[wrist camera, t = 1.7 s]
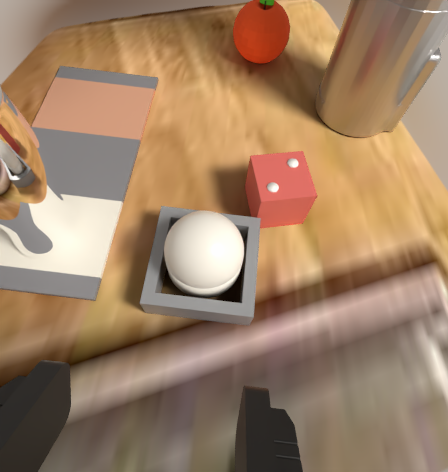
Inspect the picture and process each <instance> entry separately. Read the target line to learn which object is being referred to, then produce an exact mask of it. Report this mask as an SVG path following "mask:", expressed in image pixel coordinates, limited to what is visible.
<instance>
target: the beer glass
mask: <svg viewBox="0 0 448 472" xmlns="http://www.w3.org/2000/svg"><path fill="white" fill-rule="evenodd" d="M0 228H1V229H2V230H3V231H5V232H6V233H7V234H8V236H9V237H10V239H11V240H12V242H13V244H14V245H15V247H16V248H17V249H18V250H19V251H20V252H21V253H22V254H24V255H26V256H28V257H31V258H35V259H47V258H52V257H55V256H58V255H60V254H62V253H63V252H65V251H66V250H68V249H69V248H70V247H71V246H72V245H73V244H74V243H75V241H76V240H77V238H78V236H79V234H80V231H81V219H80V216H79V214H78V212H77V211H76V209H75V208H74V207H73V206H72V205H71V204H69V203H68V202H67V201H66V200H65V199H64V198H63V197H62V196H61V195H60V193H59V191H58V188H57V186H56V183H55V180H54V177H53V174H52V171H51V168H50V165H49V162H48V159H47V157H46V155H45V152H44V150H43V148H42V146H41V144H40V142H39V140H38V138H37V137H36V135H35V133H34V131H33V130H32V128H31V127H30V125H29V124H28V122H27V121H26V119H25V118H24V116H23V115H22V114H21V112H20V111H19V110H18V108H17V107H16V106H15V104H14V103H13V102H12V100H11V99H10V98H9V96H8V95H7V94H6V93H5V91H4V90H3V89H2V87H1V86H0Z"/></svg>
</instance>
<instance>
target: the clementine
mask: <svg viewBox="0 0 448 472" xmlns="http://www.w3.org/2000/svg"><path fill="white" fill-rule="evenodd" d="M289 33H290V24H289V19H288V16H287V14H286V12H285V10H284V9H283V7H282V6H281V5H279V4H278V3H277V2H276V1H274V0H253V1H250V2H248V3H247V4H246V5H245V6H244V7H243V8H242V9H241V10H240V11H239V13H238V15H237V17H236V19H235V23H234V28H233V37H234V42H235V45H236V48H237V50H238V51H239V53H240V54H241V55H242V56H243V57H244V58H245V59H247V60H248V61H251V62H253V63H267V62H270V61H272V60H274V59H275V58H276V57H278V56H279V55H280V54H281V53H282V51H283V50H284V48H285V47H286V45H287V42H288V39H289Z"/></svg>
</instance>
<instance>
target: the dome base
mask: <svg viewBox="0 0 448 472" xmlns="http://www.w3.org/2000/svg"><path fill="white" fill-rule="evenodd" d="M196 211H198V210H190V209H182V208H173V207H165V206H161V211H160V215H159V220H158V224H157V229H156V233H155V237H154V242H153V246H152V251H151V255H150V260H149V264H148V268H147V273H146V277H145V282H144V286H143V291H142V295H141V300H140V305H141V306H142V308H143V310H144V311H145V313H151V314H160V315H168V316H176V317H184V318H192V319H200V320H208V321H217V322H225V323H233V324H241V325H250V323H251V321H252V319H253V317H254V304H255V290H256V276H257V262H258V248H259V234H260V221H261V218H256V217H247V216H239V215H231V214H223V213H219V214H221V215H223V216H225V217H227V218H228V219H229V220H231V221H232V222H233V223H234V225H235V226H236V227H237V229H238V230H239V232H240V234H241V236H242V239H243V241H245V249H244V260H243V271H242V282H241V292H240V303H236V302H228V301H220V300H211V299H203V298H195V297H187V296H179V295H171V294H162V293H161V291H162V286H163V281H164V276H165V271H166V262H165V257H164V245H165V240H166V237H167V234H168V232H169V231H170V229H171V227H172V226H173V225H174V224H175V223H176V222H177V221H178V220H179V219H180V218H182V217H183V216H185V215H187V214H189V213H192V212H196Z"/></svg>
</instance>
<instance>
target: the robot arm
mask: <svg viewBox="0 0 448 472" xmlns="http://www.w3.org/2000/svg"><path fill="white" fill-rule="evenodd" d="M447 34H448V0H351V2H350V5H349V7H348V10H347V13H346V16H345V18H344V21H343V24H342V27H341V30H340V32H339V35H338V38H337V41H336V43H335V46H334V49H333V52H332V55H331V57H330V60H329V63H328V66H327V68H326V71H325V74H324V77H323V79H322V81H321V84H320V87H319V91H318V94H317V96H316V101H315V106H316V111H317V113H318V115H319V117H320V118H321V119H322V121H323V122H324V123H325V124H327V125H328V126H329V127H330V128H332V129H333V130H335V131H337V132H339V133H342V134H344V135H348V136H352V137H369V136H374V135H376V134H378V133H380V132H383V131H389V132H392V131H393V130H394V129H395V127H396V126H397V124H398V123H399V121H400V120H401V118H402V117H403V115H404V114H405V112H406V111H407V109H408V108H409V106H410V105H411V104H412V102H413V101H414V99H415V98H416V96H417V95H418V93H419V92H420V90H421V89H422V87H423V86H424V84H425V83H426V81H427V80H428V78H429V77H430V75H431V74H432V73H433V71H434V70H435V68H436V67H437V65H438V64H439V62H440V60H441V54H440V50H439V46H440V44H441V43H442V41H443V40H444V38H445V37H446V35H447ZM70 407H71V388H70V366H69V364H68V363H64V362H56V361H48V360H42V361H40V362H39V363H38V364H37V365H36V366H35V368H34V369H33V370H32V371H31V372H30V374H29V375H28V376H27V377H25V376H18V377H16V378H15V379H13V380H12V381H10V382H8V383H7V384H5V385H4V386H2V387H1V388H0V472H38V470H39V468H40V467H41V465H42V463H43V462H44V460H45V458H46V456H47V455H48V453H49V451H50V449H51V448H52V446H53V444H54V443H55V441H56V439H57V437H58V436H59V434H60V432H61V430H62V429H63V427H64V425H65V423H66V421H67V418H68V415H69V412H70ZM235 472H303V470H302V465H301V461H300V454H299V448H298V446H297V437H296V432H295V426H294V424H293V422H292V421H291V419H290V417H289V416H288V414H287V413H286V411H285V410H284V409H276V408H271V407H270V398H269V391H268V389H267V388H260V387H252V386H244V387H243V392H242V398H241V404H240V410H239V416H238V422H237V430H236V443H235Z"/></svg>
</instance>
